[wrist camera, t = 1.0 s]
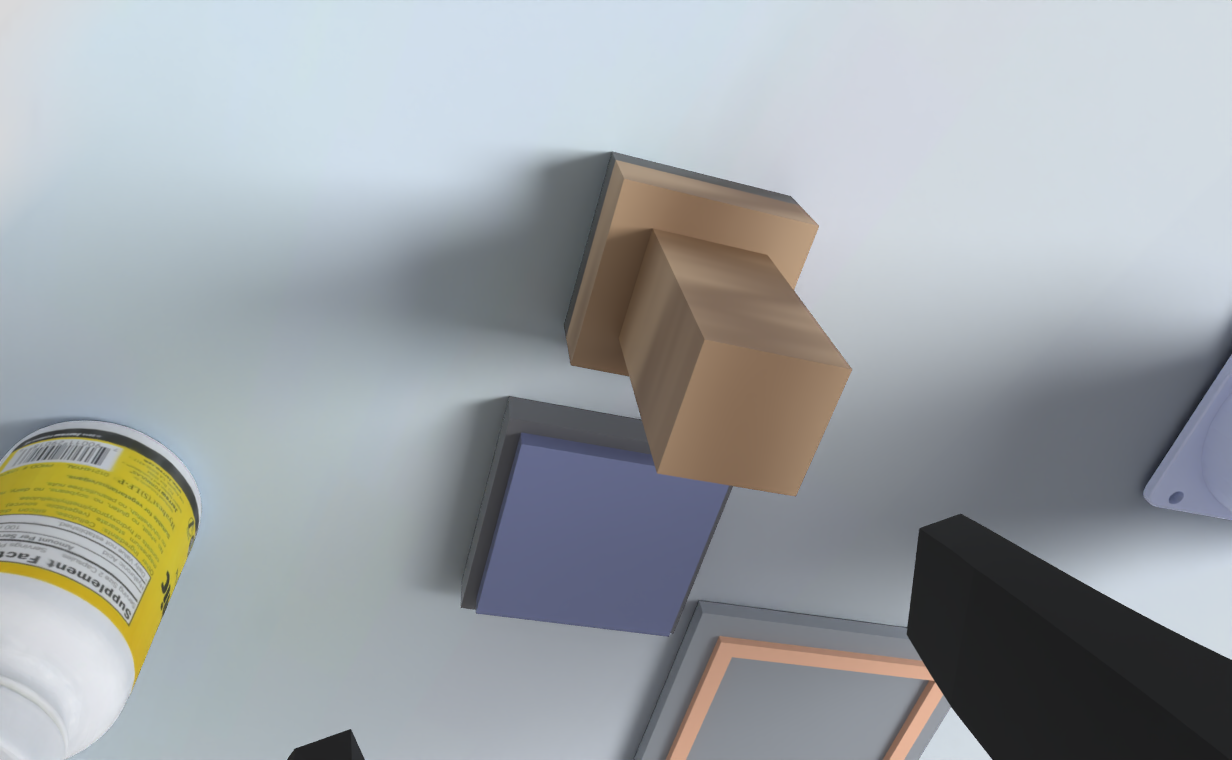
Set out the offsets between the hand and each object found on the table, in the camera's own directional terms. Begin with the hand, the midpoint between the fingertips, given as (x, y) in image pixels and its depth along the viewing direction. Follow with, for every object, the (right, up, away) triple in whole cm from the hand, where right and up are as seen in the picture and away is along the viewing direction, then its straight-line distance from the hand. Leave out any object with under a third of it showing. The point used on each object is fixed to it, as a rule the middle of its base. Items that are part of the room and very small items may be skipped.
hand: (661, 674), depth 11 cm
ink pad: (-1, -1, +17) cm, 18 cm away
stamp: (+1, +7, +14) cm, 15 cm away
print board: (+6, -10, +24) cm, 26 cm away
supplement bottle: (-15, 0, +15) cm, 21 cm away
